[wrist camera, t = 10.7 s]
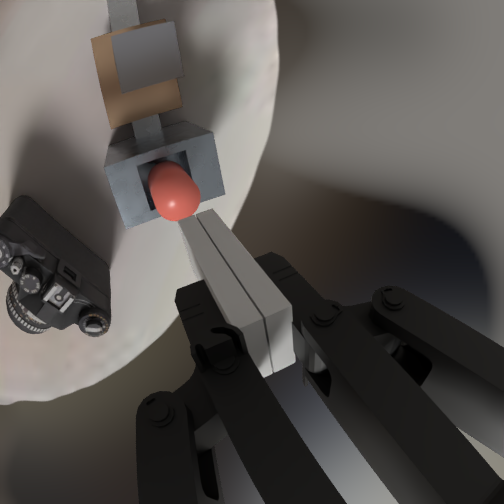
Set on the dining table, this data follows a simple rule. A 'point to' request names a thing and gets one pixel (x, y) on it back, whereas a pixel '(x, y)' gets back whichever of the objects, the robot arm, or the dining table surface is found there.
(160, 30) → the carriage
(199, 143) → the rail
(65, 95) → the dining table surface
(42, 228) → the camera
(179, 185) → the plunger
